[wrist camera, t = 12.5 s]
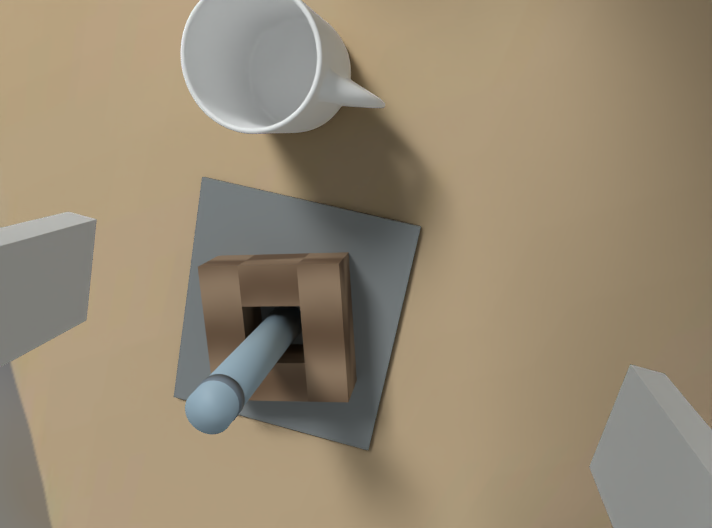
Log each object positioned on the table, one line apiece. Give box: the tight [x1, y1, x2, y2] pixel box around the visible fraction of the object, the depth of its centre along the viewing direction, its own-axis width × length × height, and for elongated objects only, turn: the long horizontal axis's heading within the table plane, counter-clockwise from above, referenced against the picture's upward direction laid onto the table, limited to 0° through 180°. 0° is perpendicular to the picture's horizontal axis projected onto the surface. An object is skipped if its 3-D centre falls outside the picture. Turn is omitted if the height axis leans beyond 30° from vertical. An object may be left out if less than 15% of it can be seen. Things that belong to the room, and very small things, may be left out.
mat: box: [174, 177, 421, 450], centre depth 48 cm, size 20×18×1 cm
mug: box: [181, 0, 385, 134], centre depth 38 cm, size 9×12×11 cm
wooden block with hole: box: [198, 252, 357, 402], centre depth 46 cm, size 11×11×4 cm
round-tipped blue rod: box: [185, 306, 302, 434], centre depth 40 cm, size 3×3×16 cm
